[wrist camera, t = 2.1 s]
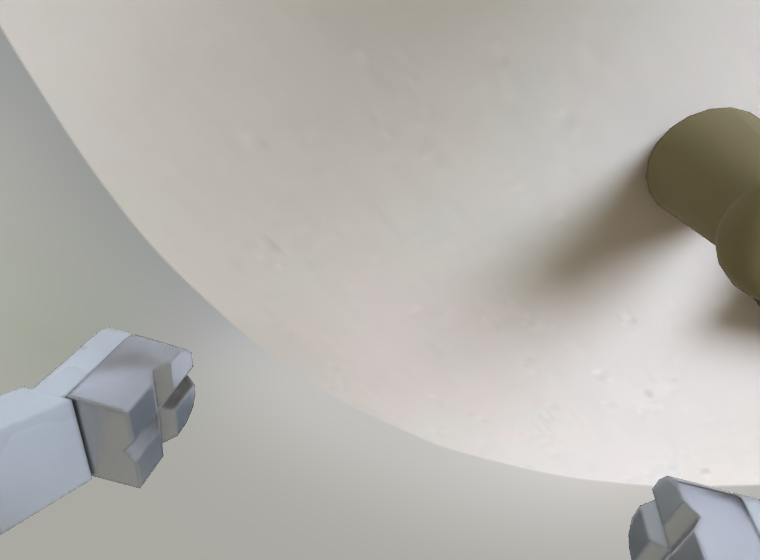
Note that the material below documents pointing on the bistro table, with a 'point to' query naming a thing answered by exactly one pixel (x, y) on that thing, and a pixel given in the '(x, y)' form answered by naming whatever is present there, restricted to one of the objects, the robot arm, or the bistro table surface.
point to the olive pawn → (715, 186)
